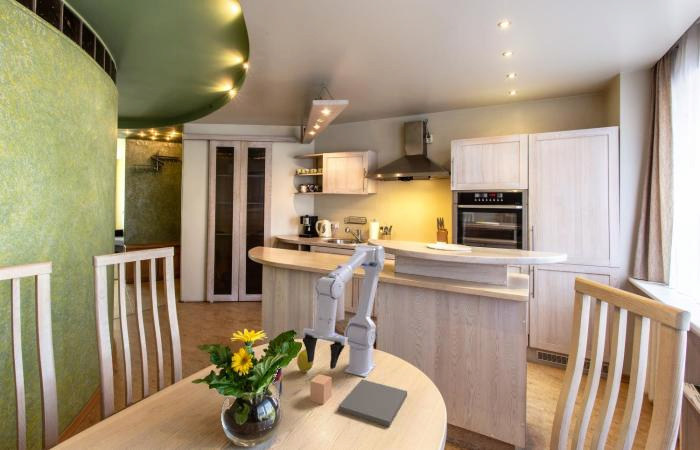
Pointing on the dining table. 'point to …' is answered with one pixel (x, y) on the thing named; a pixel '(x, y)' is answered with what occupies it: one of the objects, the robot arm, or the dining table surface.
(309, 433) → the dining table surface
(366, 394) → the shelf board
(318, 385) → the terracotta block
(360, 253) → the robot arm
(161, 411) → the dining table surface
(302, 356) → the lemon
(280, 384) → the energy drink
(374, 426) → the dining table surface
